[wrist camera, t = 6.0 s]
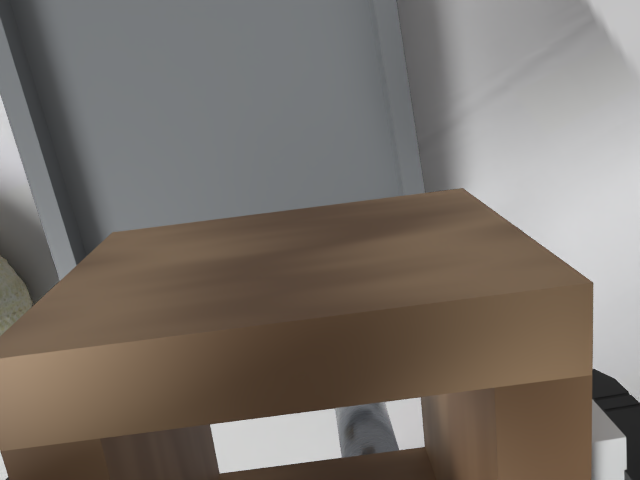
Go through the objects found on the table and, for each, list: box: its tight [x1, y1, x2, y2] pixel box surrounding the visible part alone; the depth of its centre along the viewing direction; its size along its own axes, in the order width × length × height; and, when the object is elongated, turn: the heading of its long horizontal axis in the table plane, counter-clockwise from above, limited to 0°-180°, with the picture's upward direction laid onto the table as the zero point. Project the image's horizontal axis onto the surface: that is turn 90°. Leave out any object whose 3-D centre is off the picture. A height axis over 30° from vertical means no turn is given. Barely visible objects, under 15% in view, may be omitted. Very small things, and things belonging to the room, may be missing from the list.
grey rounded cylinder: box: [335, 402, 399, 458], centre depth 30 cm, size 3×3×8 cm
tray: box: [0, 0, 425, 280], centre depth 28 cm, size 18×18×2 cm
